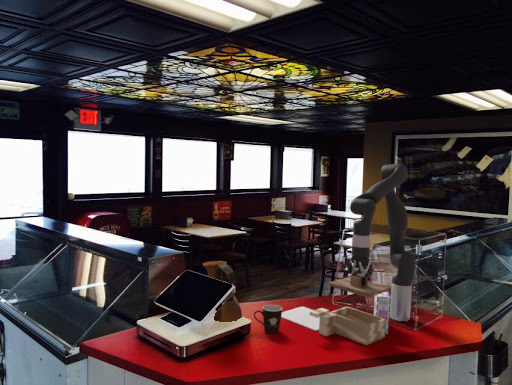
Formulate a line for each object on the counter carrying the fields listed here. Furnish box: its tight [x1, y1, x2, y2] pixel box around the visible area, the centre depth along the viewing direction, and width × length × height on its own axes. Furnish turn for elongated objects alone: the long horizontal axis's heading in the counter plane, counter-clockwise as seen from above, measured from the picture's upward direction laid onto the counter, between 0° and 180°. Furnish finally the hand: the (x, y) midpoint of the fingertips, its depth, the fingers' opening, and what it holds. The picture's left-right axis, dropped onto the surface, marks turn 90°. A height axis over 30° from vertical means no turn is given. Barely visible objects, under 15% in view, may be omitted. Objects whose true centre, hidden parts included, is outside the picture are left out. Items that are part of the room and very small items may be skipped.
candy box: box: [373, 291, 391, 335], centre depth 196 cm, size 14×6×16 cm, turn 168°
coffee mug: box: [253, 304, 283, 334], centre depth 188 cm, size 12×9×10 cm
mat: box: [281, 306, 320, 332], centre depth 206 cm, size 20×25×1 cm
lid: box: [328, 273, 391, 298], centre depth 187 cm, size 15×21×6 cm
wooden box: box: [318, 306, 386, 346], centre depth 186 cm, size 20×20×8 cm
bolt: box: [310, 307, 330, 318], centre depth 183 cm, size 8×4×2 cm, turn 133°
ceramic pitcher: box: [202, 260, 243, 322], centre depth 184 cm, size 20×20×30 cm
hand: (359, 284), depth 187 cm, fingers closed on lid, 4 cm apart
